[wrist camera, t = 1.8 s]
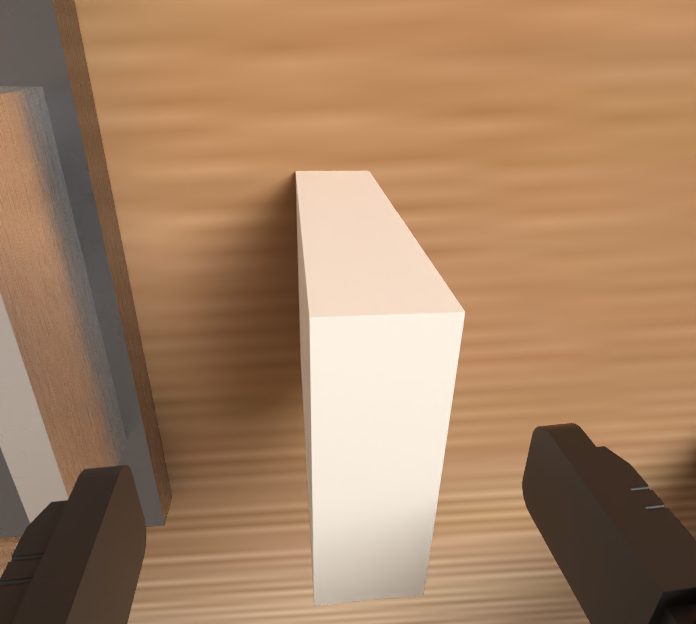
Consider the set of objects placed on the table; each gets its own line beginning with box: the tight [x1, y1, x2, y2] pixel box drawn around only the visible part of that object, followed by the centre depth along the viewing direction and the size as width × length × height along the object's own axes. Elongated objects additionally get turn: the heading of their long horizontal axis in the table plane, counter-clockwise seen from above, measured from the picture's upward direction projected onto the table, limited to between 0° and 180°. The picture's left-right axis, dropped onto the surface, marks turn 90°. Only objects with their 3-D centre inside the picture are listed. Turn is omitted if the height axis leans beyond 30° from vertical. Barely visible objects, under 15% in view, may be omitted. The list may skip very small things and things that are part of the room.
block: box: [296, 171, 465, 606], centre depth 14 cm, size 2×7×10 cm, turn 179°
